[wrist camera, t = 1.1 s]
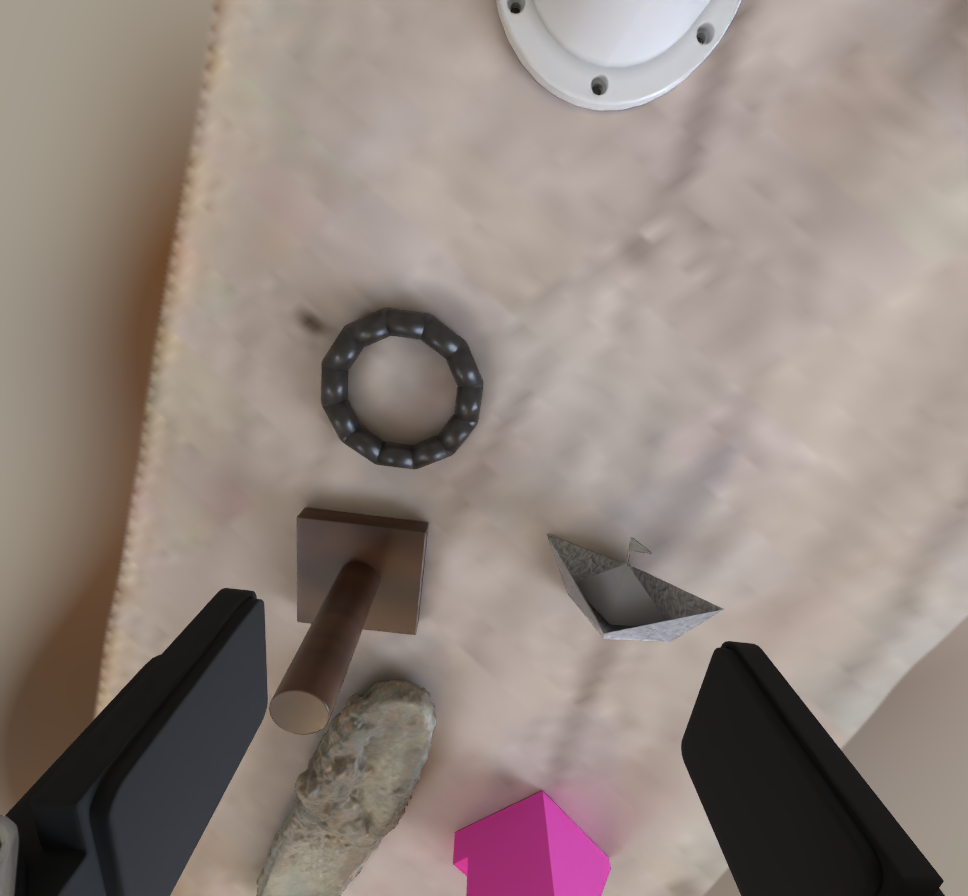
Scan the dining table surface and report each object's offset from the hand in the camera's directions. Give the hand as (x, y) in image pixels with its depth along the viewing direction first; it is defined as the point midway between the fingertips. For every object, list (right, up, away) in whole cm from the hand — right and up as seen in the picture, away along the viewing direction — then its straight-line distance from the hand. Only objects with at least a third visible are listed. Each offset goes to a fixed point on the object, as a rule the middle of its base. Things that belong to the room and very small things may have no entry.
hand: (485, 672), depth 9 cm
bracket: (+5, -35, +35) cm, 50 cm away
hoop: (-5, +8, +19) cm, 22 cm away
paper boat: (+10, -4, +25) cm, 27 cm away
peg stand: (-9, -4, +25) cm, 27 cm away
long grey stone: (-14, -29, +33) cm, 46 cm away
